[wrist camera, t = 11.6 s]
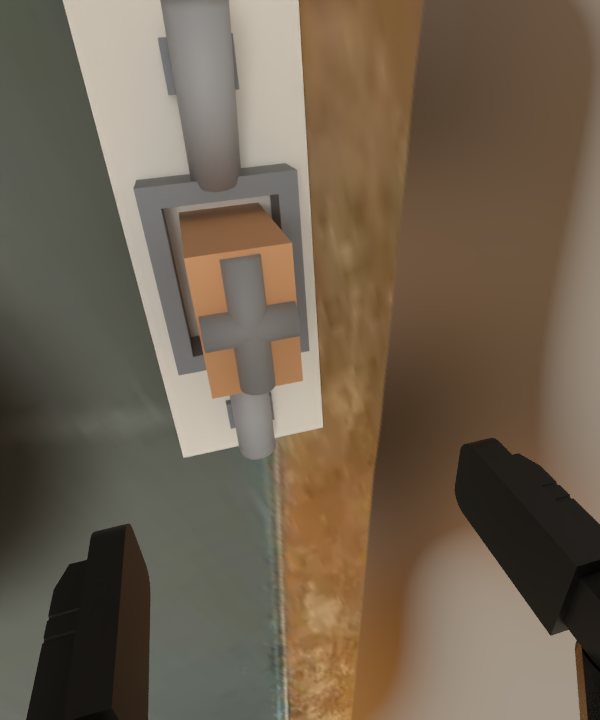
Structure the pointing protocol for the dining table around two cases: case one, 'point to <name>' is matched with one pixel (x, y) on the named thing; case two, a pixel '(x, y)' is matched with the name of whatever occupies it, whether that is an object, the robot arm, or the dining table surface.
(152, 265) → the shaft rig
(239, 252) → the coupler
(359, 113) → the dining table surface
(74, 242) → the dining table surface
